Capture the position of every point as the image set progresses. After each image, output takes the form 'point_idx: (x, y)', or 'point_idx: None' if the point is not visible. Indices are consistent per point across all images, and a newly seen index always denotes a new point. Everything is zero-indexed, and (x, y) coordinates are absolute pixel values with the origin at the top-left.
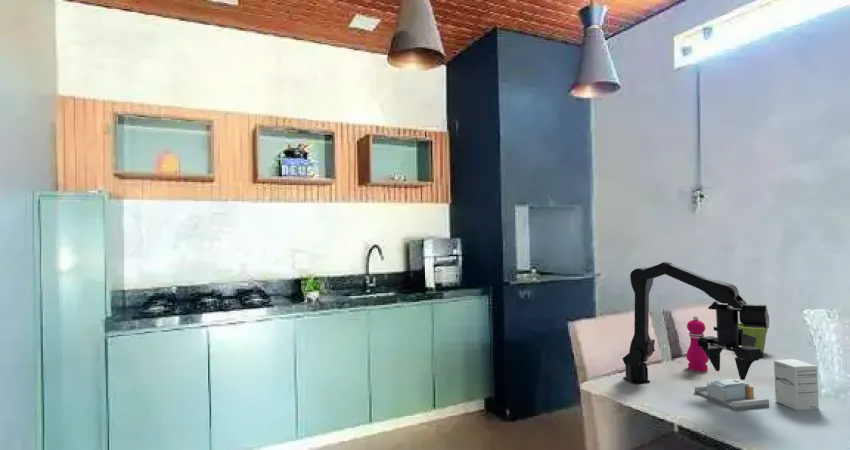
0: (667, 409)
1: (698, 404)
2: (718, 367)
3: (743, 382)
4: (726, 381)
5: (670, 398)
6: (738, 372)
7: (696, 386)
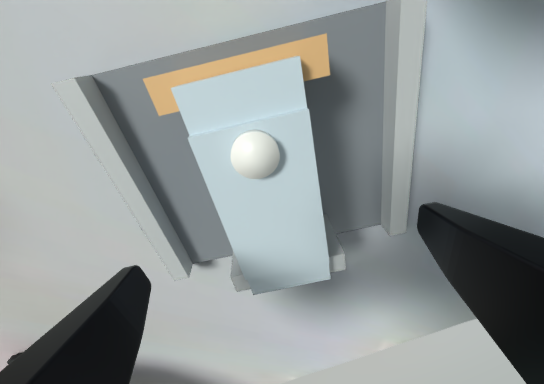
0: (336, 356)
1: (312, 290)
2: (126, 302)
3: (296, 115)
4: (260, 225)
5: (251, 333)
6: (472, 308)
7: (170, 274)
